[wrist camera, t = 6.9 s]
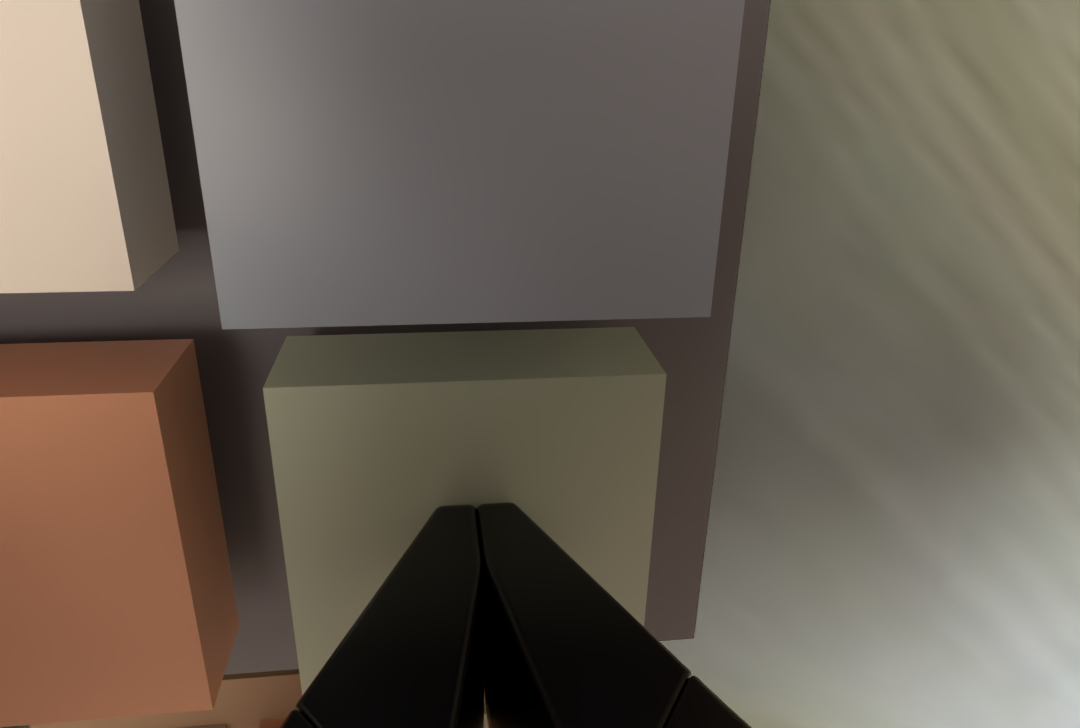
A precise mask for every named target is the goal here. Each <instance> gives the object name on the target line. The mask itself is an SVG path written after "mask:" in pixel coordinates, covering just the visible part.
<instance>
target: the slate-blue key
mask: <svg viewBox="0 0 1080 728" xmlns="http://www.w3.org/2000/svg"><path fill="white" fill-rule="evenodd" d="M174 3H175V10H176V16H177V23H178V30H179V37H180V44H181V51H182V58H183V64H184V71H185V78H186V85H187V92H188V99H189V106H190V112H191V119H192V126H193V133H194V140H195V147H196V154H197V160H198V167H199V174H200V181H201V188H202V195H203V202H204V208H205V215H206V222H207V229H208V236H209V243H210V250H211V256H212V263H213V270H214V277H215V284H216V291H217V298H218V304H219V311H220V318H221V325H222V329H260V328H299V327H338V326H377V325H416V324H455V323H494V322H533V321H573V320H612V319H651V318H690V317H710V316H711V307H712V298H713V288H714V279H715V270H716V261H717V252H718V243H719V233H720V224H721V215H722V206H723V197H724V188H725V178H726V169H727V160H728V151H729V142H730V133H731V124H732V114H733V105H734V96H735V87H736V78H737V69H738V59H739V50H740V41H741V32H742V23H743V14H744V4H745V0H174Z"/></svg>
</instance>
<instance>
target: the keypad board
mask: <svg viewBox="0 0 1080 728" xmlns="http://www.w3.org/2000/svg"><path fill="white" fill-rule="evenodd" d="M770 4H771V0H745V4H744V14H743V23H742V32H741V41H740V50H739V59H738V69H737V78H736V87H735V96H734V105H733V114H732V124H731V133H730V142H729V151H728V160H727V169H726V178H725V188H724V197H723V206H722V215H721V224H720V233H719V243H718V252H717V261H716V270H715V279H714V288H713V298H712V307H711V316H710V317H690V318H651V319H612V320H573V321H533V322H494V323H455V324H416V325H377V326H338V327H299V328H260V329H222V325H221V318H220V311H219V304H218V298H217V291H216V284H215V277H214V270H213V263H212V256H211V250H210V243H209V236H208V229H207V222H206V215H205V208H204V202H203V195H202V188H201V181H200V174H199V167H198V160H197V154H196V147H195V140H194V133H193V126H192V119H191V112H190V106H189V99H188V92H187V85H186V78H185V71H184V64H183V58H182V51H181V44H180V37H179V30H178V23H177V16H176V10H175V3H174V0H139V5H140V11H141V17H142V23H143V29H144V35H145V42H146V48H147V54H148V60H149V66H150V73H151V79H152V85H153V91H154V97H155V104H156V110H157V116H158V122H159V128H160V134H161V141H162V147H163V153H164V159H165V165H166V172H167V178H168V184H169V190H170V196H171V203H172V209H173V215H174V221H175V227H176V233H177V240H178V246H179V251H178V252H177V253H176V254H175V255H174V256H173V257H171V258H170V259H169V260H168V261H167V262H166V263H165V264H164V265H163V266H161V267H160V268H159V269H158V270H157V271H156V272H155V273H154V274H153V275H151V276H150V277H149V278H148V279H147V280H146V281H145V282H144V283H143V284H141V285H140V286H139V287H138V288H137V289H136V290H135V291H98V292H46V293H0V344H20V343H57V342H94V341H131V340H168V339H193V340H194V346H195V352H196V358H197V364H198V371H199V377H200V383H201V389H202V395H203V402H204V408H205V414H206V420H207V426H208V432H209V439H210V445H211V451H212V457H213V463H214V470H215V476H216V482H217V488H218V494H219V500H220V507H221V513H222V519H223V525H224V531H225V538H226V544H227V550H228V556H229V562H230V568H231V575H232V581H233V587H234V593H235V599H236V606H237V612H238V618H239V624H240V626H239V629H238V632H237V635H236V638H235V641H234V645H233V648H232V651H231V654H230V657H229V660H228V664H227V667H226V670H225V673H224V675H228V674H241V673H254V672H267V671H280V670H293V669H299V666H298V658H297V650H296V643H295V635H294V627H293V619H292V612H291V604H290V596H289V588H288V580H287V573H286V565H285V557H284V549H283V542H282V534H281V526H280V518H279V510H278V503H277V495H276V487H275V479H274V472H273V464H272V456H271V448H270V440H269V433H268V425H267V417H266V409H265V402H264V394H263V387H264V384H265V382H266V380H267V378H268V376H269V373H270V371H271V369H272V367H273V365H274V363H275V360H276V358H277V356H278V354H279V352H280V349H281V347H282V345H283V343H284V341H285V339H286V336H312V335H350V334H387V333H424V332H461V331H498V330H535V329H573V328H610V327H635V329H636V330H637V331H638V333H639V334H640V336H641V337H642V339H643V340H644V342H645V343H646V345H647V346H648V348H649V349H650V351H651V352H652V353H653V355H654V356H655V358H656V359H657V361H658V362H659V364H660V365H661V367H662V368H663V370H664V371H665V372H666V374H667V375H666V386H665V398H664V409H663V420H662V431H661V443H660V454H659V465H658V476H657V487H656V499H655V510H654V521H653V532H652V544H651V555H650V566H649V577H648V589H647V600H646V611H645V622H644V627H645V628H646V629H647V630H648V631H649V632H650V633H651V634H652V635H653V636H654V637H655V638H656V639H657V640H658V641H665V640H678V639H691V638H694V633H695V625H696V616H697V608H698V600H699V592H700V583H701V575H702V567H703V558H704V550H705V542H706V534H707V525H708V517H709V509H710V500H711V492H712V484H713V476H714V467H715V459H716V451H717V442H718V434H719V426H720V418H721V409H722V401H723V393H724V385H725V376H726V368H727V360H728V351H729V343H730V335H731V327H732V318H733V310H734V302H735V293H736V285H737V277H738V269H739V260H740V252H741V244H742V236H743V227H744V219H745V211H746V202H747V194H748V186H749V178H750V169H751V161H752V153H753V144H754V136H755V128H756V120H757V111H758V103H759V95H760V87H761V78H762V70H763V62H764V53H765V45H766V37H767V29H768V20H769V12H770Z"/></svg>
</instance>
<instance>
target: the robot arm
mask: <svg viewBox="0 0 1080 728" xmlns="http://www.w3.org/2000/svg"><path fill="white" fill-rule="evenodd" d="M484 696H485V706H486V715H487V722H488V728H751V727H750V726H749V725H748V724H747V723H746V722H745V721H744V720H743V719H741V718H740V717H739V716H738V715H737V714H736V713H735V712H734V711H733V710H732V709H730V708H729V707H728V706H727V705H726V704H725V703H724V702H723V701H722V700H720V699H719V698H718V697H717V696H716V695H715V694H714V693H713V692H712V691H711V690H710V689H709V688H708V687H707V686H706V685H705V684H704V683H703V682H702V681H701V680H700V679H699V678H697V677H696V676H692V677H691V672H690V670H689V669H688V668H687V667H685V666H684V665H683V664H682V663H681V662H680V661H679V660H678V659H677V658H676V657H675V656H674V655H673V654H672V653H671V652H670V651H669V650H668V649H667V648H666V647H665V646H664V645H662V644H661V643H660V642H659V641H658V640H657V639H656V638H655V637H654V636H653V635H652V634H651V633H650V632H649V631H648V630H647V629H646V628H645V627H644V626H643V625H642V624H641V623H639V622H638V621H637V620H636V619H635V618H634V617H633V616H632V615H631V614H630V613H629V612H628V611H627V610H626V609H625V608H624V607H623V606H622V605H621V604H620V603H619V602H618V601H616V600H615V599H614V598H613V597H612V596H611V595H610V594H609V593H608V592H607V591H606V590H605V589H604V588H603V587H602V586H601V585H600V584H599V583H598V582H597V581H596V580H595V579H593V578H592V577H591V576H590V575H589V574H588V573H587V572H586V571H585V570H584V569H583V568H582V567H581V566H580V565H579V564H578V563H577V562H576V561H575V560H574V559H573V558H572V557H570V556H569V555H568V554H567V553H566V552H565V551H564V550H563V549H562V548H561V547H560V546H559V545H558V544H557V543H556V542H555V541H554V540H553V539H552V538H551V537H550V536H549V535H547V534H546V533H545V532H544V531H543V530H542V529H541V528H540V527H539V526H538V525H537V524H536V523H535V522H534V521H533V520H532V519H531V518H530V517H529V516H528V515H527V514H526V513H524V512H523V511H522V510H521V509H520V508H519V507H518V506H517V505H516V504H514V503H511V502H506V503H489V504H481V505H479V506H478V507H477V510H476V509H475V508H474V507H473V506H472V505H452V506H440V507H438V508H436V509H435V511H434V512H433V514H432V515H431V516H430V518H429V519H428V521H427V522H426V523H425V525H424V526H423V528H422V529H421V530H420V532H419V533H418V535H417V536H416V537H415V539H414V540H413V542H412V543H411V544H410V546H409V547H408V549H407V550H406V551H405V553H404V554H403V556H402V557H401V558H400V560H399V561H398V563H397V564H396V565H395V567H394V568H393V570H392V571H391V572H390V574H389V575H388V577H387V578H386V579H385V581H384V582H383V584H382V585H381V586H380V588H379V589H378V591H377V592H376V593H375V595H374V596H373V598H372V599H371V600H370V602H369V603H368V605H367V606H366V607H365V609H364V610H363V611H362V613H361V614H360V616H359V617H358V618H357V620H356V621H355V623H354V624H353V625H352V627H351V628H350V630H349V631H348V632H347V634H346V635H345V637H344V638H343V639H342V641H341V642H340V644H339V645H338V646H337V648H336V649H335V651H334V652H333V653H332V655H331V656H330V658H329V659H328V660H327V662H326V663H325V665H324V666H323V667H322V669H321V670H320V672H319V673H318V674H317V676H316V677H315V679H314V680H313V681H312V683H311V684H310V686H309V687H308V688H307V690H306V691H305V693H304V694H303V695H302V697H301V698H300V700H299V701H298V702H297V704H296V706H295V710H292V711H291V712H290V713H289V714H288V716H287V717H286V718H285V720H284V721H283V723H282V724H281V726H280V727H279V728H484Z"/></svg>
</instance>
